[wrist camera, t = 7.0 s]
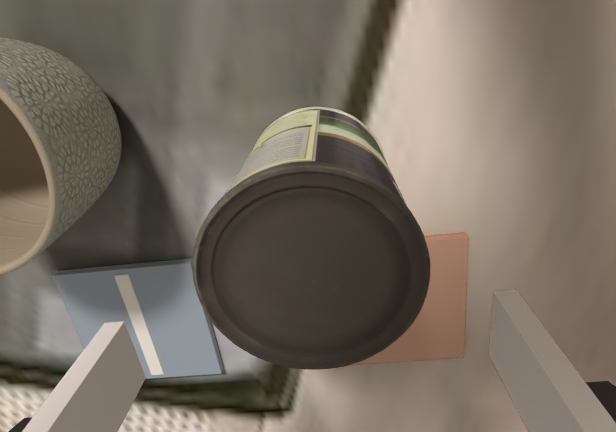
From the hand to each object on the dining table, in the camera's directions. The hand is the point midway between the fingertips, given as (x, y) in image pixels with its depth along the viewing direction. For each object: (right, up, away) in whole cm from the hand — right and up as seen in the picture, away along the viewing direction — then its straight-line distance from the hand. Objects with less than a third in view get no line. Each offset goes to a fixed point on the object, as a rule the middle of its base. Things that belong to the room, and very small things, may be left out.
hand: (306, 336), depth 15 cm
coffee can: (+1, +7, +16) cm, 18 cm away
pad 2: (+7, -3, +20) cm, 22 cm away
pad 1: (-15, -5, +22) cm, 27 cm away
